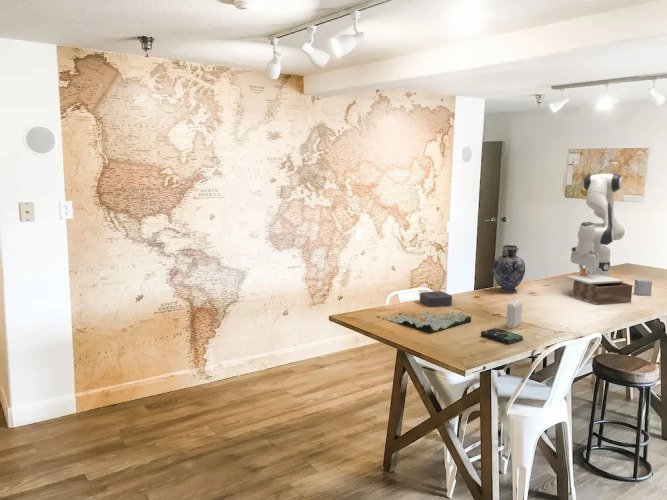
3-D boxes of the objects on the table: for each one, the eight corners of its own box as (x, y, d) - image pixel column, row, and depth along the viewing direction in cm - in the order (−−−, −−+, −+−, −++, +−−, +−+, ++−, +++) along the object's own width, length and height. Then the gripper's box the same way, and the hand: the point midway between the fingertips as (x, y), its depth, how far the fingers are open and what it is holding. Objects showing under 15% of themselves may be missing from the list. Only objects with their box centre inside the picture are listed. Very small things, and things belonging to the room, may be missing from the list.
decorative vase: (498, 285, 337) (500, 242, 333) (527, 289, 327) (531, 245, 322) (486, 292, 320) (489, 246, 316) (517, 296, 310) (520, 249, 305)
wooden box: (572, 296, 309) (573, 280, 307) (604, 294, 314) (605, 278, 313) (597, 304, 290) (598, 287, 288) (630, 302, 295) (632, 285, 293)
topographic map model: (376, 318, 266) (376, 308, 265) (416, 309, 284) (416, 300, 283) (430, 335, 238) (431, 324, 238) (471, 323, 257) (471, 313, 256)
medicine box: (647, 293, 315) (648, 279, 314) (651, 295, 311) (652, 281, 309) (633, 293, 316) (634, 279, 315) (636, 295, 311) (638, 280, 310)
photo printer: (513, 328, 246) (515, 303, 244) (505, 327, 248) (506, 301, 247) (522, 324, 253) (523, 298, 252) (513, 322, 256) (514, 297, 254)
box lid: (565, 277, 314) (566, 269, 314) (597, 275, 320) (598, 267, 319) (589, 284, 295) (590, 275, 294) (623, 282, 300) (624, 273, 299)
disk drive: (480, 337, 235) (508, 346, 223) (480, 331, 234) (509, 339, 223) (494, 333, 241) (523, 341, 229) (494, 327, 240) (523, 335, 229)
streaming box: (418, 301, 298) (418, 292, 298) (441, 299, 303) (441, 291, 302) (430, 307, 285) (430, 298, 284) (453, 305, 289) (454, 296, 288)
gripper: (602, 252, 304) (601, 275, 306) (578, 247, 323) (576, 269, 325) (593, 252, 302) (591, 276, 304) (569, 247, 322) (568, 269, 324)
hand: (583, 272), depth 315 cm, fingers closed on box lid, 2 cm apart
